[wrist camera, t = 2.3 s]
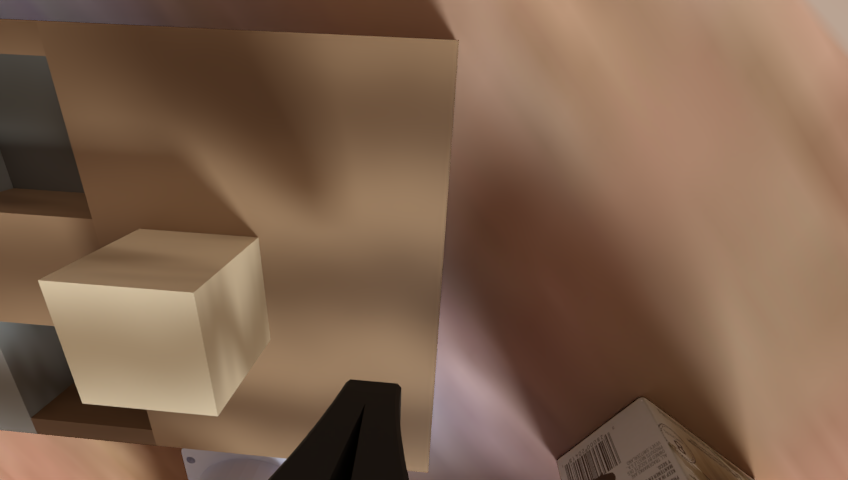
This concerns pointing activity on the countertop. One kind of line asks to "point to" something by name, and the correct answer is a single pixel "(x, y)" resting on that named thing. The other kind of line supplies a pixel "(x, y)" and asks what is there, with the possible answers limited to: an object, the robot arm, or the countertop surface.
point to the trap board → (231, 210)
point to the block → (161, 320)
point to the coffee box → (645, 451)
